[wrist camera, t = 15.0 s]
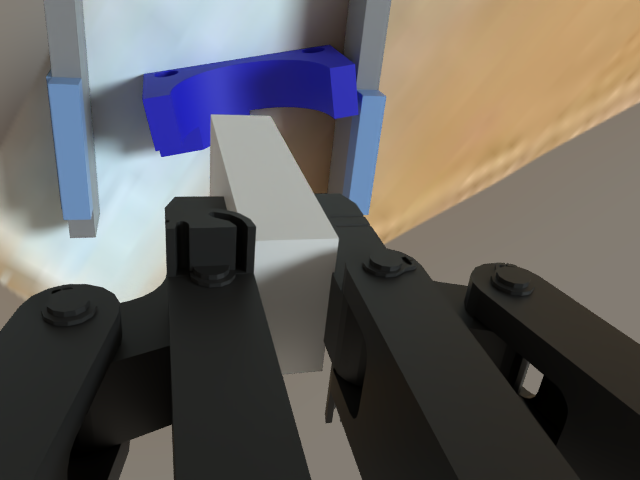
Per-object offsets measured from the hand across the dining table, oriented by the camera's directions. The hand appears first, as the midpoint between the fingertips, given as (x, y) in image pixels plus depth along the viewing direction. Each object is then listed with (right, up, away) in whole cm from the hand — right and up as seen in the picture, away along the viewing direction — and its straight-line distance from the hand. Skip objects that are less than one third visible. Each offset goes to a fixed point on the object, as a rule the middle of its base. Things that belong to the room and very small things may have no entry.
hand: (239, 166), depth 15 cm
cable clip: (-3, +8, +24) cm, 25 cm away
